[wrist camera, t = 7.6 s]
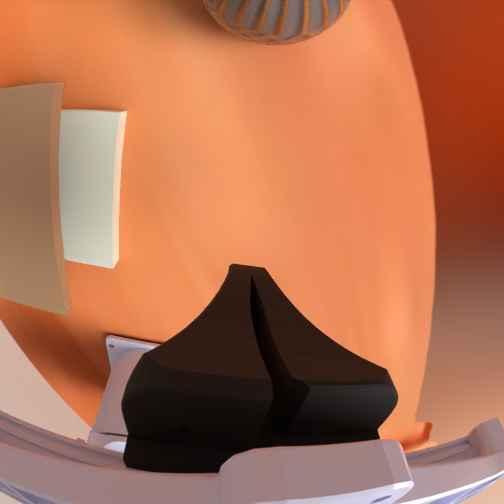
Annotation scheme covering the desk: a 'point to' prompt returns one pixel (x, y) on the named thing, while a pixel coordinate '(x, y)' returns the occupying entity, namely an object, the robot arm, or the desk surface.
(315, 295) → the desk surface
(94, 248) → the panel
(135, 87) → the desk surface
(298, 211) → the desk surface
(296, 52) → the desk surface
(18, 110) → the shelf unit
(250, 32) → the vase
